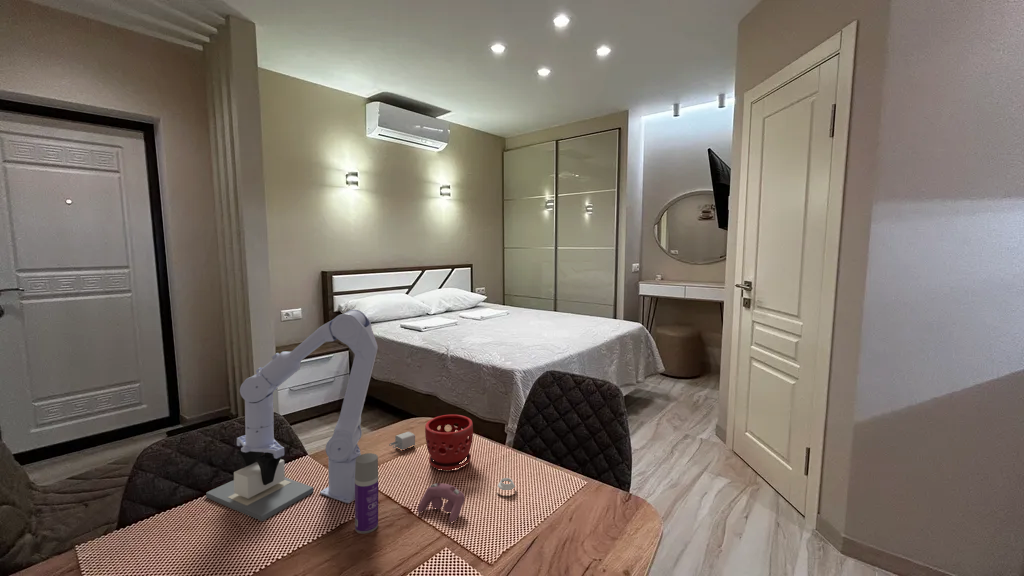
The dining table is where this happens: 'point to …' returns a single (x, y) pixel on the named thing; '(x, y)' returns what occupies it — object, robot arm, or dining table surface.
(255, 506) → the stub plate
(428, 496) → the video game controller
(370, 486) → the container
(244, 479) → the block
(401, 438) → the usb wall charger
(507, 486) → the grey rounded piece
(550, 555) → the dining table surface
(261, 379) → the robot arm
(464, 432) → the plant pot
